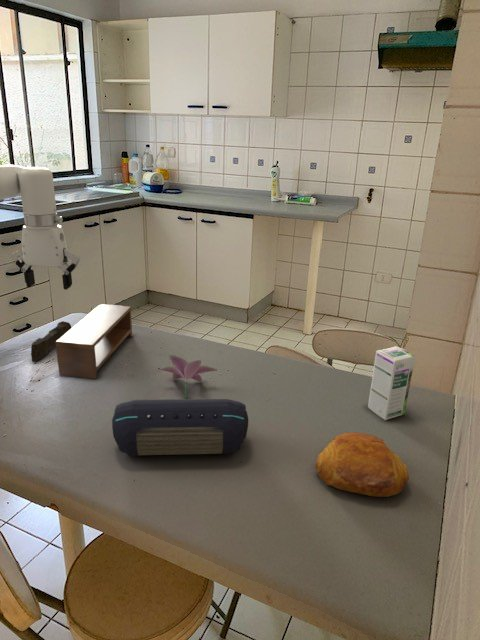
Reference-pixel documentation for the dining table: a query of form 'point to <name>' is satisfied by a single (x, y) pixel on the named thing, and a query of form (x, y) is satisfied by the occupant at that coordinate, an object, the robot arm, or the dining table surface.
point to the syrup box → (391, 382)
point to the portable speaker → (180, 426)
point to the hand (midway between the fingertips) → (49, 286)
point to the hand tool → (48, 341)
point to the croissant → (362, 465)
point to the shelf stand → (93, 340)
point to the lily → (187, 369)
